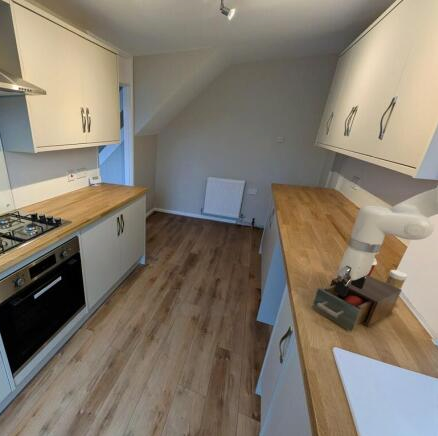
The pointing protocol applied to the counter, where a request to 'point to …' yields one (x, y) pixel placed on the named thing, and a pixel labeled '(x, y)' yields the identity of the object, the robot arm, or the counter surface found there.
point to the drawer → (341, 307)
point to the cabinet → (376, 297)
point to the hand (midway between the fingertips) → (348, 290)
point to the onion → (355, 300)
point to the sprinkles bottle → (396, 278)
